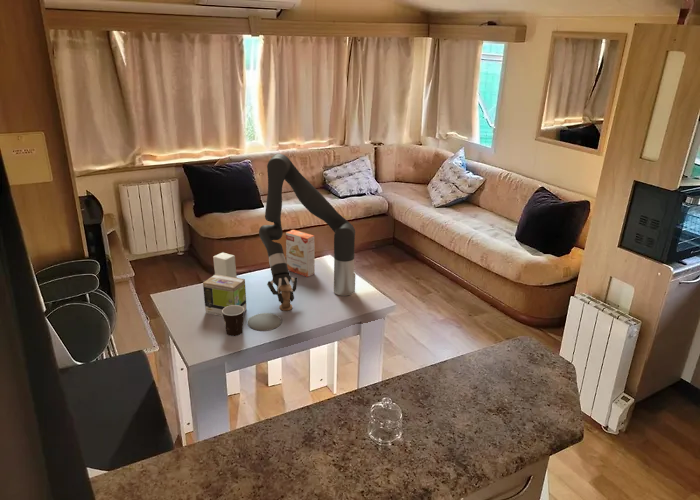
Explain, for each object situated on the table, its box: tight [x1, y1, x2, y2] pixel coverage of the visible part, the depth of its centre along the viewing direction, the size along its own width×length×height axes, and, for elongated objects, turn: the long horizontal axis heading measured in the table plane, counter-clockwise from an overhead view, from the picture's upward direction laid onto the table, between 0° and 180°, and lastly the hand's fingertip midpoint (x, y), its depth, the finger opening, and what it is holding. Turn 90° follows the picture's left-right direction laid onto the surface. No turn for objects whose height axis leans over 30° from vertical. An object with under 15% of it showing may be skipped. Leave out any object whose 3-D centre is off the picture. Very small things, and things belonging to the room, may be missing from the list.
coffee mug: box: [222, 305, 245, 337], centre depth 215 cm, size 12×9×10 cm
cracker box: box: [285, 229, 316, 278], centre depth 270 cm, size 14×6×21 cm, turn 55°
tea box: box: [202, 273, 247, 317], centre depth 231 cm, size 15×10×15 cm, turn 71°
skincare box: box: [212, 251, 238, 278], centre depth 254 cm, size 8×7×16 cm
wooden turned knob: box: [279, 284, 293, 312], centre depth 236 cm, size 6×6×10 cm
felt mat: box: [247, 312, 282, 332], centre depth 226 cm, size 14×14×1 cm
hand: (287, 301), depth 235 cm, fingers closed on wooden turned knob, 4 cm apart
